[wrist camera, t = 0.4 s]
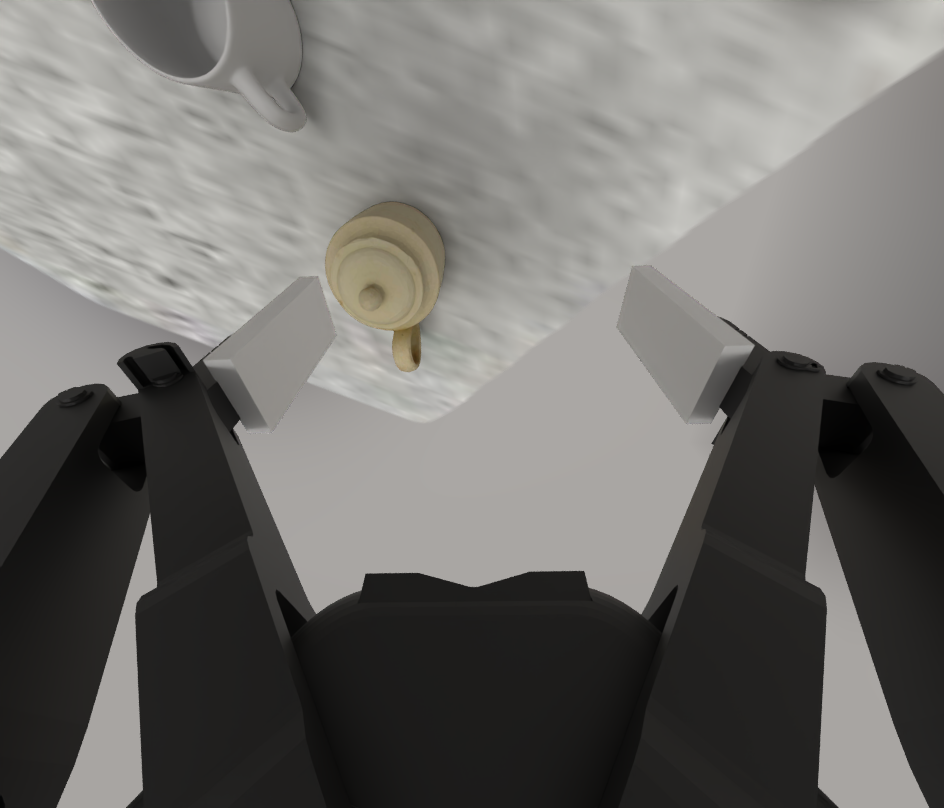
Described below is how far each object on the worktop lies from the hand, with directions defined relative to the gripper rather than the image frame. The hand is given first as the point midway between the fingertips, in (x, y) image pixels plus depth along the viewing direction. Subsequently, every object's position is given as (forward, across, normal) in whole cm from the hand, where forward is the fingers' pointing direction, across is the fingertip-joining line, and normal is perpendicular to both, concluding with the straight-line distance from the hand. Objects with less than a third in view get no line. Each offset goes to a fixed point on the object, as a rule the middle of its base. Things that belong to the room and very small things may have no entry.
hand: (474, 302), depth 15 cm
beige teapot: (+27, -8, -7) cm, 29 cm away
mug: (+28, -17, +11) cm, 34 cm away
